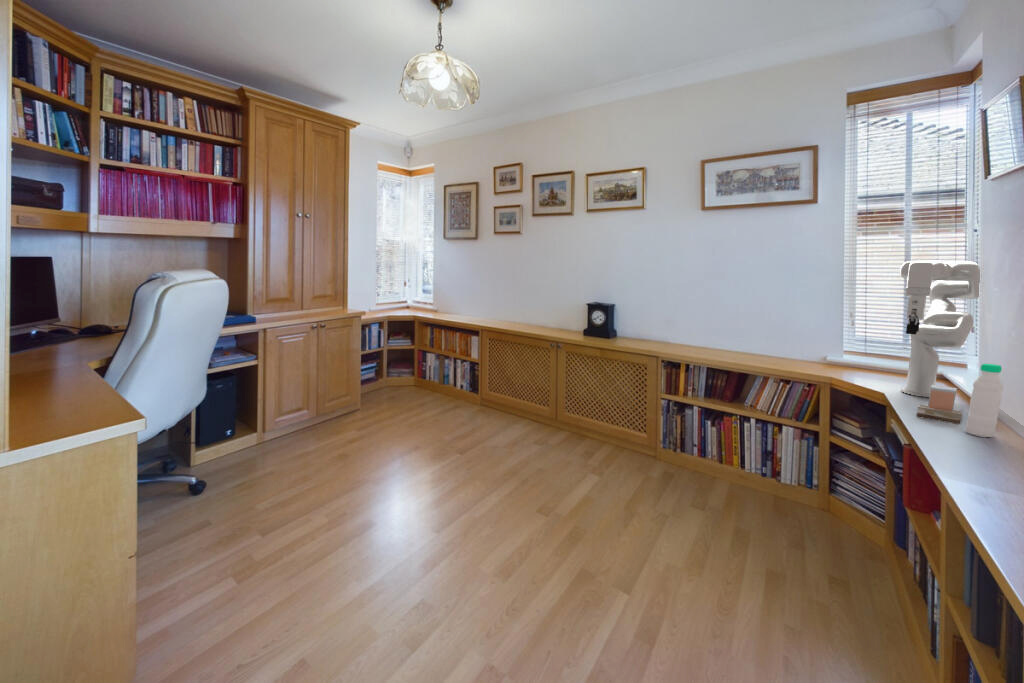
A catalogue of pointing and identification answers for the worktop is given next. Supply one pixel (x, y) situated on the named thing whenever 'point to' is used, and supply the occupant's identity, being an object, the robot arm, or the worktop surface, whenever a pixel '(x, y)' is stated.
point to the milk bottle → (985, 402)
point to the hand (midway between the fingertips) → (912, 332)
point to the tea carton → (942, 398)
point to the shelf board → (939, 414)
